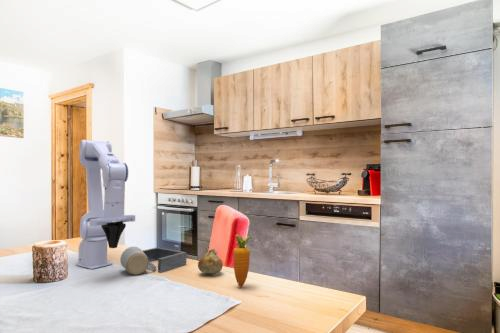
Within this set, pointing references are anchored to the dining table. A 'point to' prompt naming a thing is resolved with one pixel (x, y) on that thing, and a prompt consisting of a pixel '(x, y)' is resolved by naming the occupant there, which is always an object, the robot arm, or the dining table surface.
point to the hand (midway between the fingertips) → (113, 247)
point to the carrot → (241, 260)
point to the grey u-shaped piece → (166, 258)
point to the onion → (210, 263)
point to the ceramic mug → (136, 261)
